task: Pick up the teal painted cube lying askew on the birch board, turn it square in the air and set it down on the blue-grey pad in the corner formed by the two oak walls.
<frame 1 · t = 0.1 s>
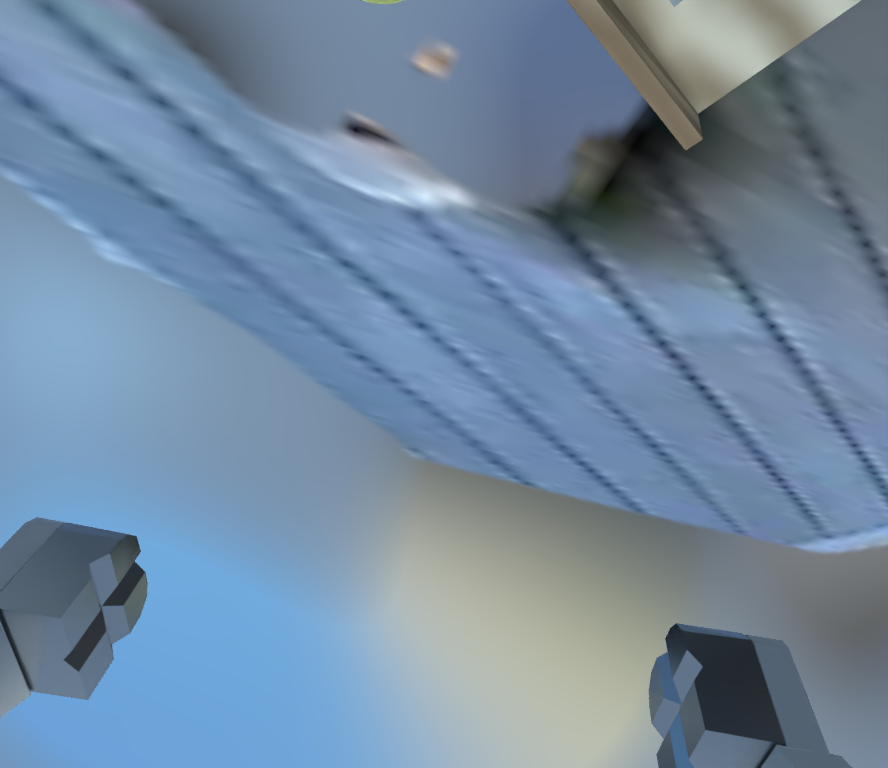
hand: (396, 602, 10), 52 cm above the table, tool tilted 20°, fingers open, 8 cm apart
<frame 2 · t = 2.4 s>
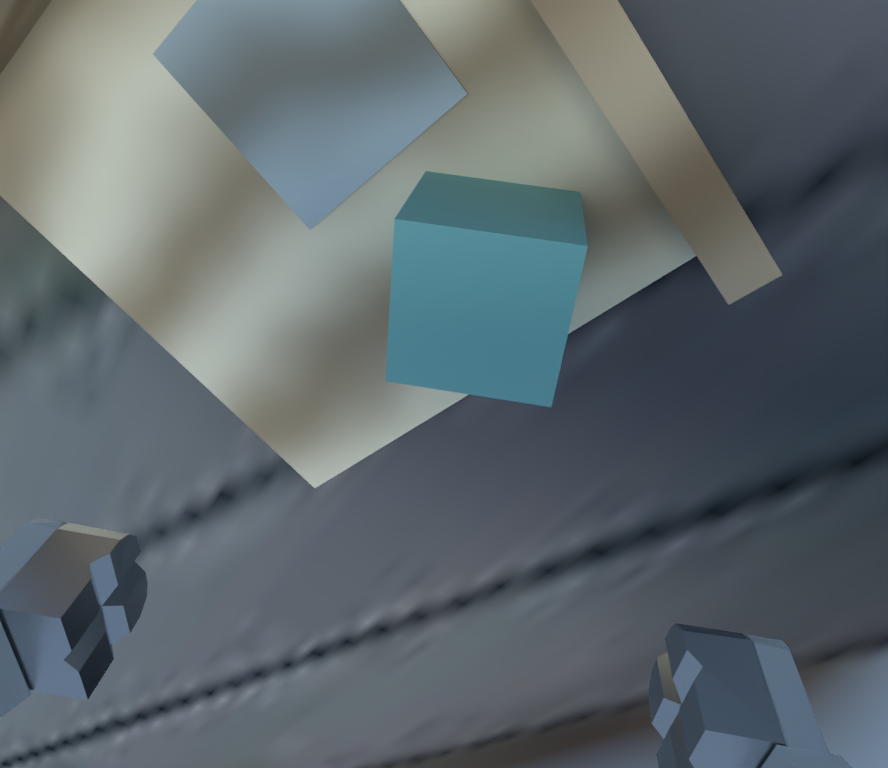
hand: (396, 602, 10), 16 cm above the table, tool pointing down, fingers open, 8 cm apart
cube: (491, 254, 22), point 1 cm above the table, touching arena
arena: (318, 159, 22), on the table
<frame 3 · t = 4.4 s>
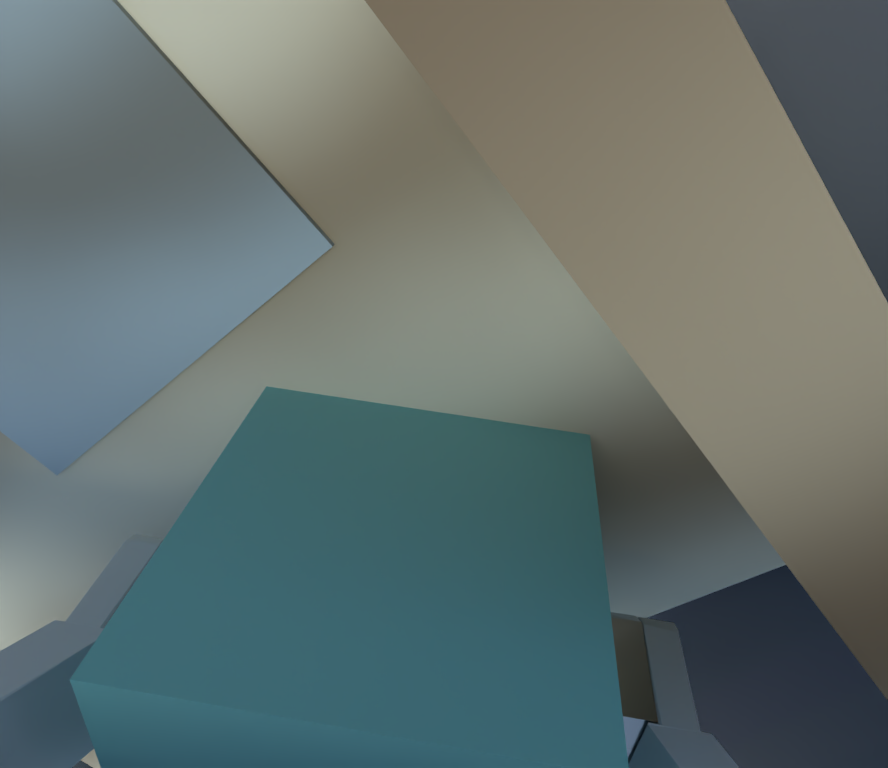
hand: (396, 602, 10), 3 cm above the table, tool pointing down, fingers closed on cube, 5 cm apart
cube: (414, 528, 11), point 1 cm above the table, touching arena, gripper
arena: (69, 341, 11), on the table
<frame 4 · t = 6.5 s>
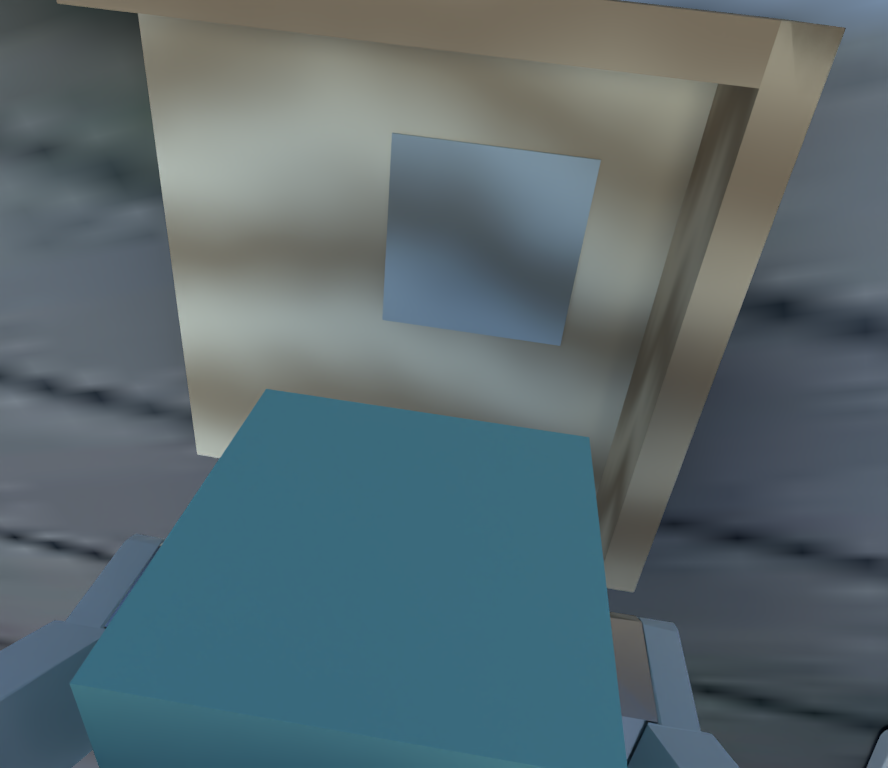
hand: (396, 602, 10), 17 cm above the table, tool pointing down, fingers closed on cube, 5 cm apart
cube: (413, 530, 11), point 16 cm above the table, touching gripper
arena: (427, 279, 26), on the table
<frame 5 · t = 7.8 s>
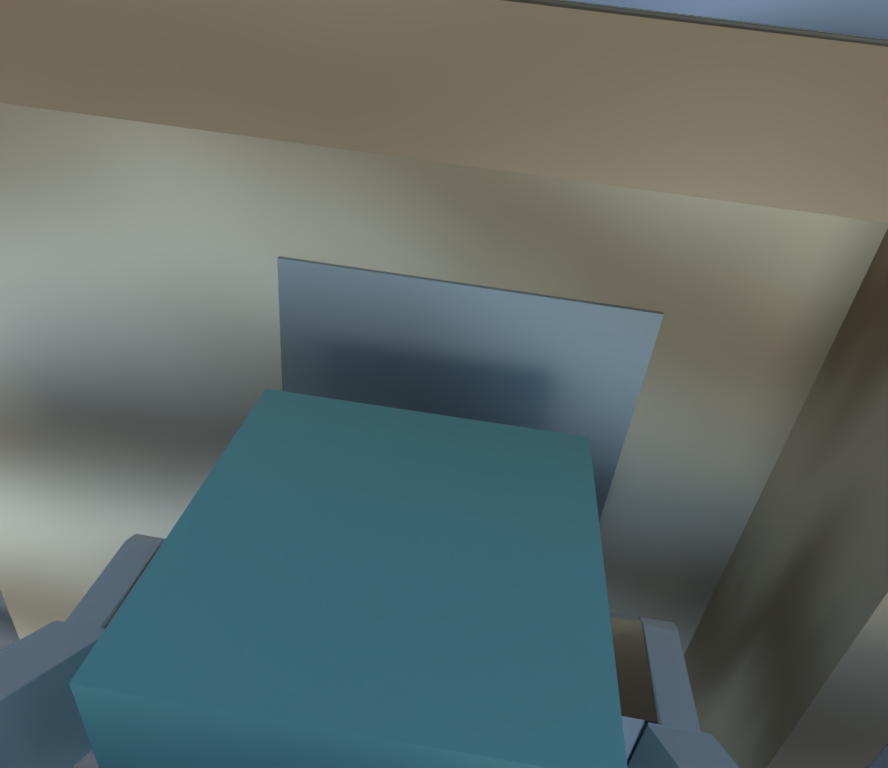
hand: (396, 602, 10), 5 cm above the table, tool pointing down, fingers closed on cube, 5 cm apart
cube: (413, 530, 11), point 4 cm above the table, touching gripper
arena: (362, 467, 16), on the table
when the fingers open (5 cm above the table, at t = 8.6 s): cube drops 2 cm, resting on arena.
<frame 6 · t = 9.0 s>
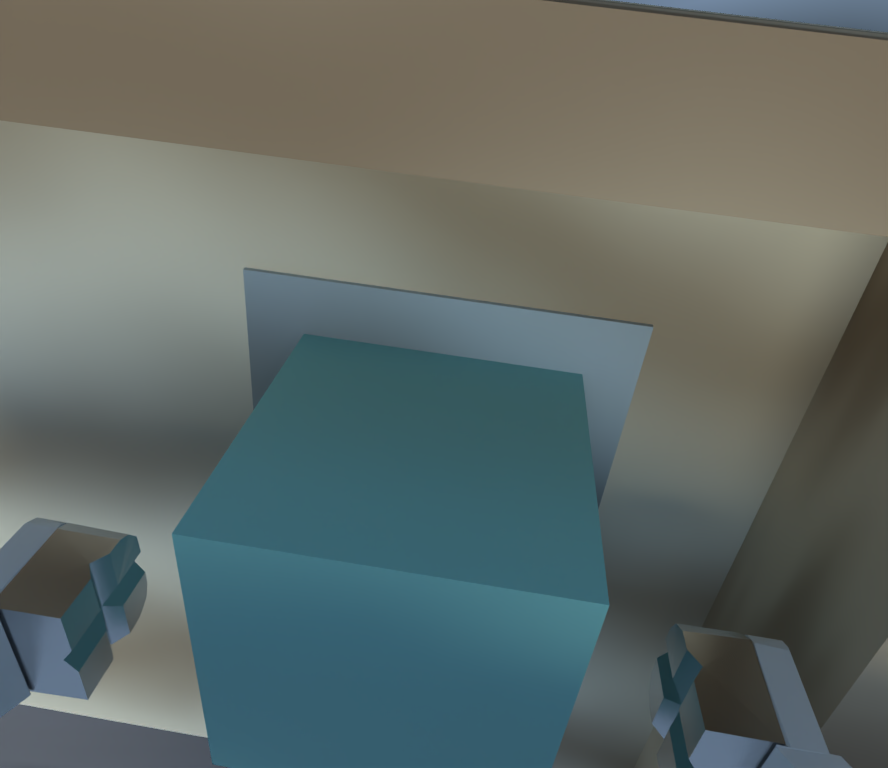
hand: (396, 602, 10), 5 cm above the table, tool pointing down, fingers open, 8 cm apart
cube: (429, 462, 13), point 1 cm above the table, touching arena
arena: (341, 484, 15), on the table
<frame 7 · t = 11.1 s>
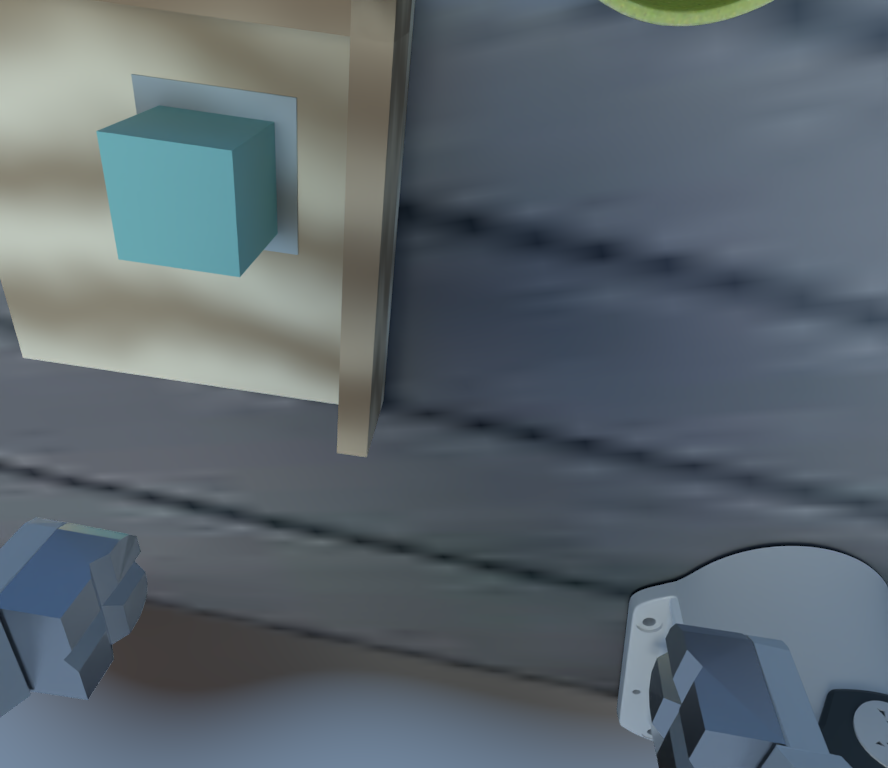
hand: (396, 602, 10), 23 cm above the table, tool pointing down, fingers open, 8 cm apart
cube: (221, 172, 29), point 1 cm above the table, touching arena
arena: (190, 200, 31), on the table
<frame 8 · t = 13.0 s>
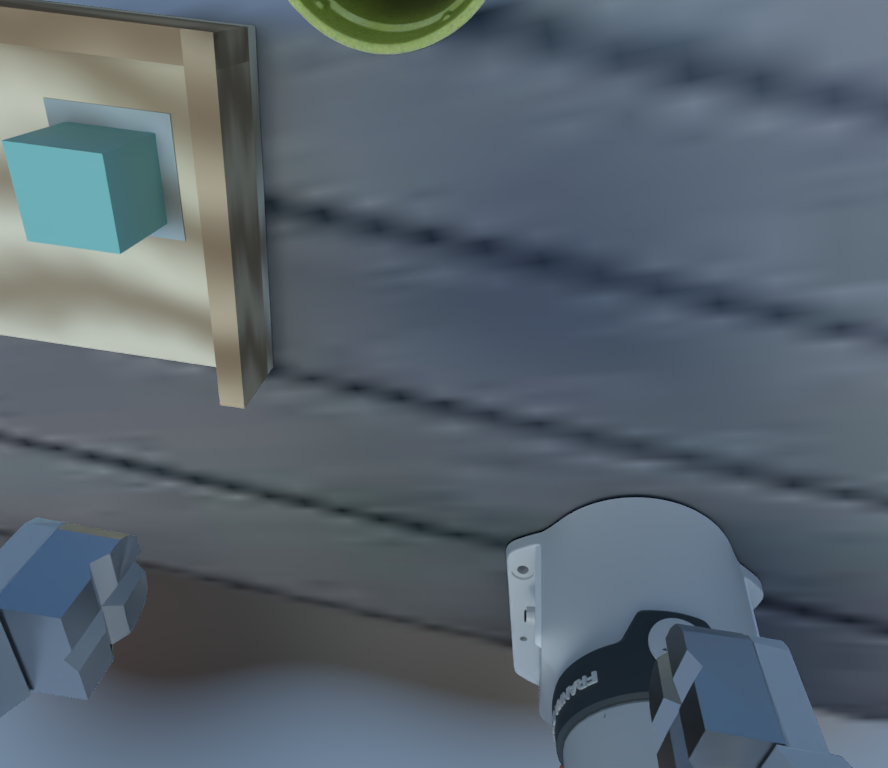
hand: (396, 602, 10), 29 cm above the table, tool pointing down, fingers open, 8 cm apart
cube: (118, 174, 36), point 1 cm above the table, touching arena
arena: (100, 198, 38), on the table
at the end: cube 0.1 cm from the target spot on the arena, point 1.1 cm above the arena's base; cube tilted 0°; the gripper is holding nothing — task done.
